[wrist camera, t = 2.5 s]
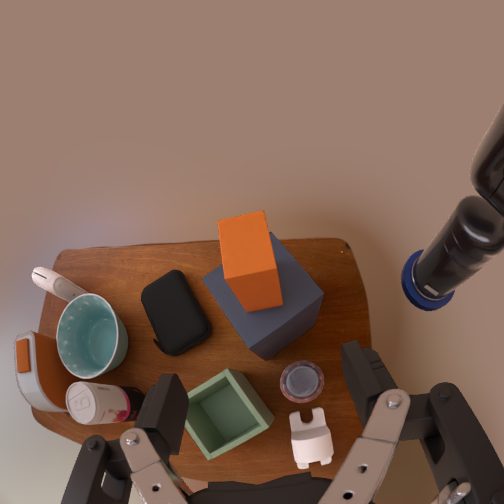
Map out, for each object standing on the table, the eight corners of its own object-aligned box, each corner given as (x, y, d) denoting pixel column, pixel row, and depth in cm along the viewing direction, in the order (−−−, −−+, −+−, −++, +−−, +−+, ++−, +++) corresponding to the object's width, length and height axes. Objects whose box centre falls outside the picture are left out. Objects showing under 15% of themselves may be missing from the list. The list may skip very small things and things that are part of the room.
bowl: (153, 365, 45) (129, 359, 37) (94, 392, 43) (66, 389, 36) (128, 293, 52) (105, 278, 45) (75, 324, 50) (50, 314, 43)
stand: (279, 281, 49) (270, 230, 34) (314, 325, 44) (324, 293, 29) (232, 314, 47) (201, 278, 32) (265, 361, 43) (248, 348, 28)
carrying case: (138, 297, 51) (168, 363, 45) (130, 292, 49) (160, 362, 42) (182, 269, 53) (218, 334, 46) (176, 262, 50) (213, 331, 43)
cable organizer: (321, 406, 38) (328, 412, 29) (330, 459, 33) (339, 478, 24) (288, 413, 38) (286, 421, 29) (298, 466, 34) (298, 487, 25)
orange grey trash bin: (53, 350, 48) (10, 335, 36) (76, 343, 48) (31, 327, 36) (62, 412, 41) (16, 408, 29) (87, 410, 41) (39, 407, 30)
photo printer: (92, 293, 53) (56, 270, 43) (86, 310, 52) (47, 291, 41) (66, 282, 56) (32, 260, 45) (60, 298, 54) (25, 278, 43)
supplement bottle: (327, 380, 40) (337, 379, 30) (301, 407, 38) (303, 415, 28) (300, 356, 42) (302, 348, 32) (274, 383, 41) (267, 383, 31)
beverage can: (153, 414, 40) (102, 419, 27) (127, 423, 40) (73, 428, 27) (140, 382, 43) (87, 375, 30) (114, 392, 43) (60, 387, 30)
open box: (241, 371, 42) (227, 368, 34) (275, 417, 38) (269, 427, 29) (195, 400, 41) (170, 402, 32) (226, 446, 37) (208, 460, 28)
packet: (273, 260, 32) (263, 209, 23) (283, 305, 29) (277, 268, 21) (239, 267, 32) (217, 220, 23) (246, 312, 30) (224, 279, 21)
